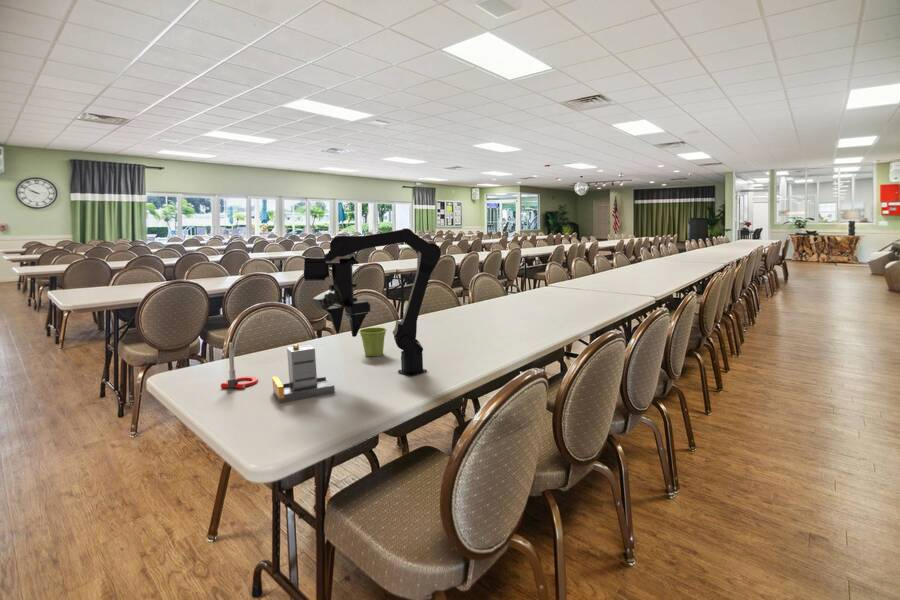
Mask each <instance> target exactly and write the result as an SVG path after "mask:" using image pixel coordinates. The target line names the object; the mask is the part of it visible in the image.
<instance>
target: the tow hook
mask: <svg viewBox="0 0 900 600" xmlns="http://www.w3.org/2000/svg"><path fill="white" fill-rule="evenodd" d="M228 348H229V349H228V363H229V365H228V366H229V371H228V372H229V373H228V374H229V379H227V380H226V381H225V382H221V384H220V388H221V389H229V388H233V389H232V390H236V389H235V388H238V389H239V390H243V389H245V388H246V387H250V386H253V385H255V384H257V383H259V378H258V377H256V376H239V377H236V369H235V356H234V355H235V354H234V349H233V342H229V343H228ZM239 380H243V381H246V382H241V383H239V382H240V381H239ZM250 380H252V381H250ZM238 389H237V390H238Z"/></svg>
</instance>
